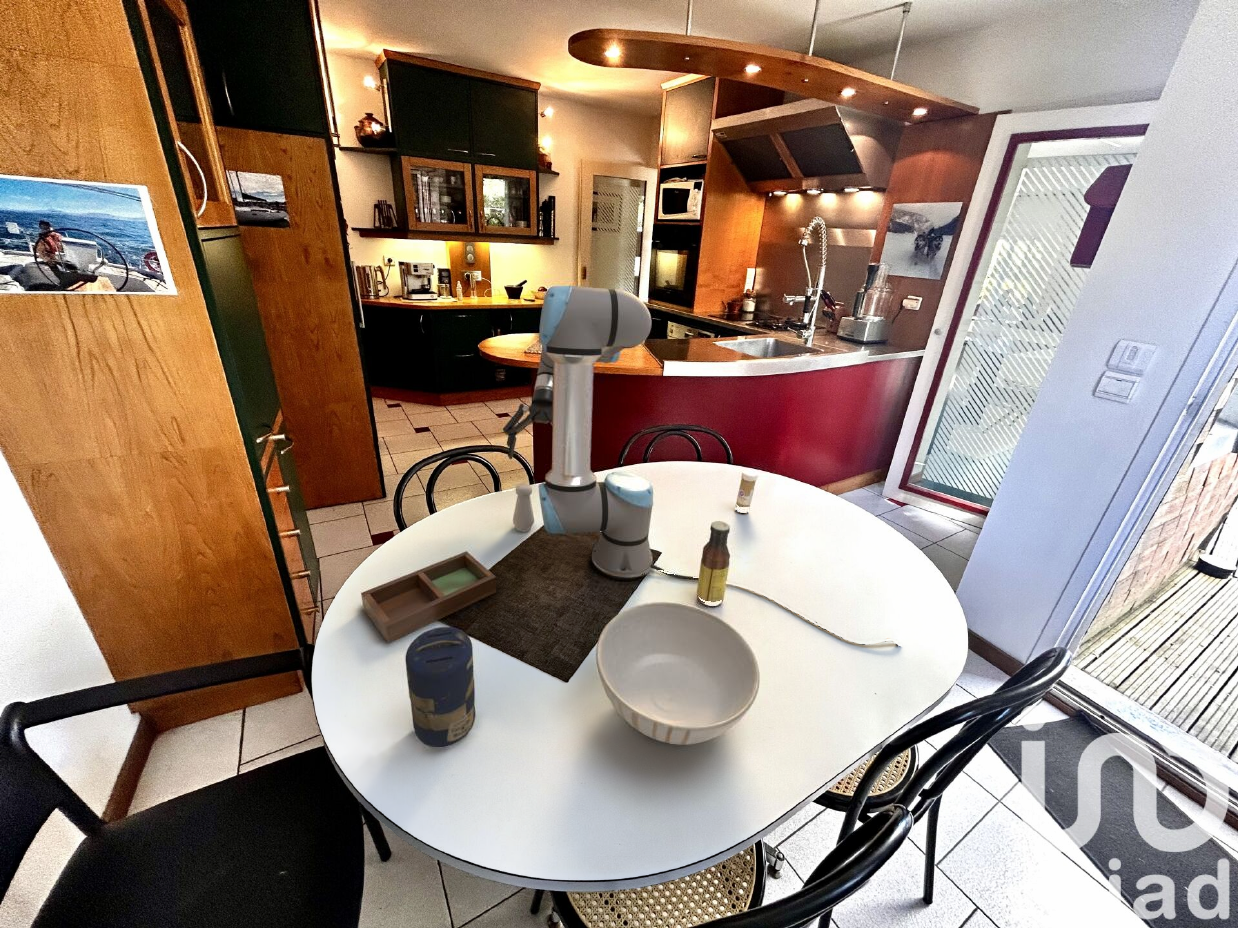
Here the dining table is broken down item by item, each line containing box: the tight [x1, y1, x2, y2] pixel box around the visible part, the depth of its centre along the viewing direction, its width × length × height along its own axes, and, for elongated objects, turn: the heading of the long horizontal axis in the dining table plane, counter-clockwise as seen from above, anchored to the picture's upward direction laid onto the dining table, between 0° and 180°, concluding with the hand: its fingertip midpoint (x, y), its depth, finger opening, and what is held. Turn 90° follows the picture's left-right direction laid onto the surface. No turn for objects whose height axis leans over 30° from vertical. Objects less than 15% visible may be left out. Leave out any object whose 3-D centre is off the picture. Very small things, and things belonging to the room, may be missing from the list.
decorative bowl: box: [595, 601, 761, 746], centre depth 83 cm, size 27×27×12 cm
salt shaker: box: [512, 482, 535, 533], centre depth 131 cm, size 6×6×13 cm
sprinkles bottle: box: [735, 469, 758, 508], centre depth 150 cm, size 5×5×14 cm
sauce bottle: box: [696, 520, 731, 604], centre depth 109 cm, size 7×6×20 cm
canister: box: [405, 626, 477, 749], centre depth 76 cm, size 10×10×18 cm
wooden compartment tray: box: [360, 550, 497, 644], centre depth 104 cm, size 12×24×4 cm, turn 135°
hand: (533, 460), depth 137 cm, fingers open, 13 cm apart
